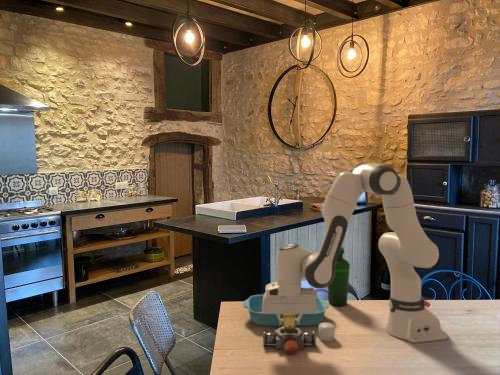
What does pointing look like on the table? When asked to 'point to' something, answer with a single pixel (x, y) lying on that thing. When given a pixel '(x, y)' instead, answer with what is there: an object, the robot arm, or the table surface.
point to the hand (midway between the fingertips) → (289, 324)
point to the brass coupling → (289, 323)
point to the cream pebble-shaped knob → (326, 332)
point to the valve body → (289, 340)
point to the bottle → (339, 282)
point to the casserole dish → (271, 319)
